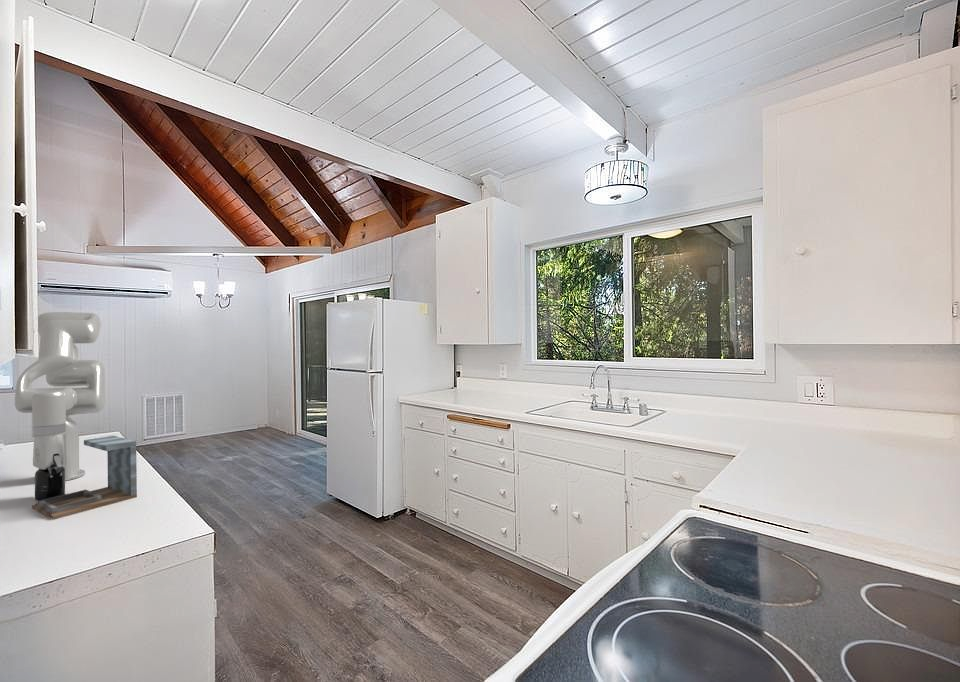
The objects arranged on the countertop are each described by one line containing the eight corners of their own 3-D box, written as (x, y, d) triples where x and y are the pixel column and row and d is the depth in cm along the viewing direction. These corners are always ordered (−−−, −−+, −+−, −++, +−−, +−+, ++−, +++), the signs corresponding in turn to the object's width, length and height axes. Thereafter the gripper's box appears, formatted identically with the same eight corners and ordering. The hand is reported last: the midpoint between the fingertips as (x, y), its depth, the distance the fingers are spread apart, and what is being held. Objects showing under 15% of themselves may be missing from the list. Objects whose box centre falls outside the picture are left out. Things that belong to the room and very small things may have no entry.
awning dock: (32, 508, 129) (31, 448, 129) (113, 488, 146) (112, 435, 146) (53, 519, 121) (52, 455, 121) (136, 497, 138) (136, 440, 138)
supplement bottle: (46, 502, 134) (45, 463, 133) (28, 501, 135) (28, 461, 135) (71, 494, 140) (70, 456, 140) (54, 493, 142) (53, 455, 142)
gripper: (22, 429, 139) (23, 486, 139) (43, 435, 130) (44, 496, 130) (54, 425, 145) (55, 480, 145) (76, 431, 136) (77, 488, 137)
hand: (50, 487), depth 138 cm, fingers closed on supplement bottle, 6 cm apart
